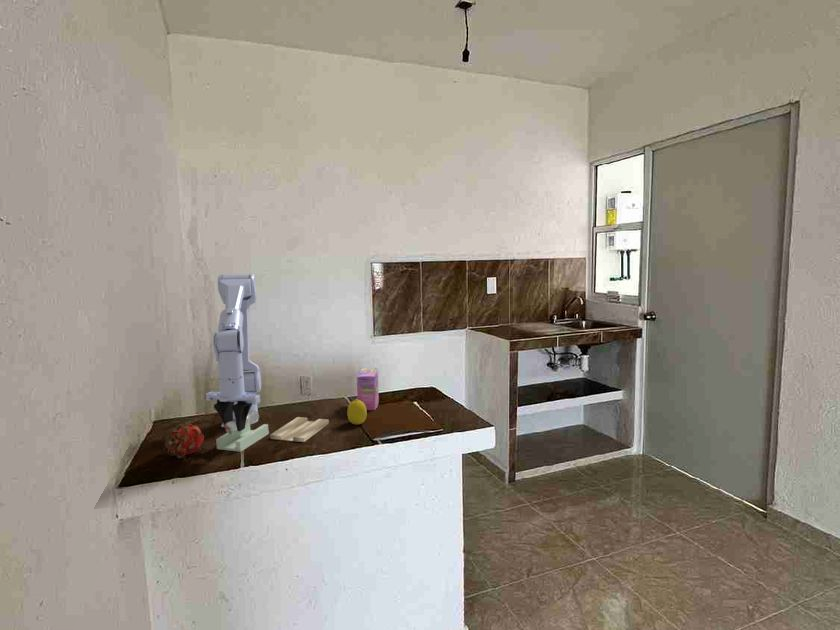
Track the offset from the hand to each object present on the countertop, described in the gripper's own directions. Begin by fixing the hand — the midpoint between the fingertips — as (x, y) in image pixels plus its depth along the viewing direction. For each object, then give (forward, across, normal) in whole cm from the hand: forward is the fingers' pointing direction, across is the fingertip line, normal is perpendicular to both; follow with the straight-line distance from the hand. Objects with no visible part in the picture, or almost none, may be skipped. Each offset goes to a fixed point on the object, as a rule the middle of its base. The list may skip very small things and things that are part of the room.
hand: (235, 429), depth 120 cm
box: (+6, +21, +38) cm, 44 cm away
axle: (0, 0, +3) cm, 3 cm away
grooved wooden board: (+5, +11, +13) cm, 18 cm away
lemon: (+6, +24, +22) cm, 33 cm away
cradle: (+5, 0, +3) cm, 6 cm away
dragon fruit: (+6, -11, -6) cm, 13 cm away
